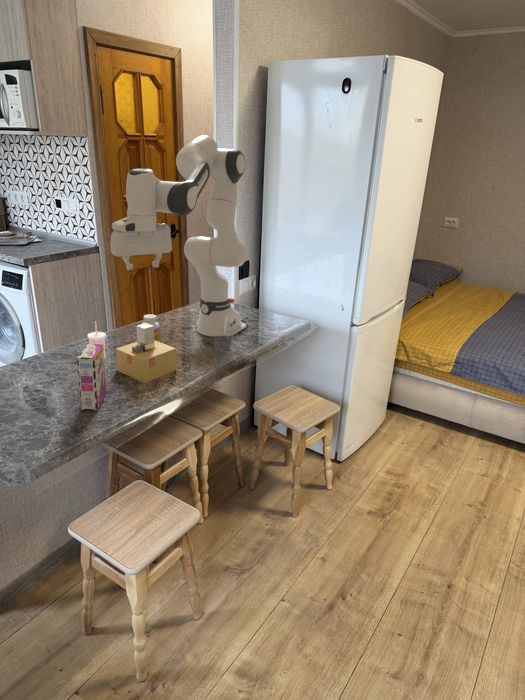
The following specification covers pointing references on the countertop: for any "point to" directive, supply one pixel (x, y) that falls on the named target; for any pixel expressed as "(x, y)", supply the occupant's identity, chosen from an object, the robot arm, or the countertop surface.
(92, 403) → the candy bar box
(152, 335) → the column
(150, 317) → the supplement bottle
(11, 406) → the countertop surface
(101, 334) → the beverage cup
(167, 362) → the housing
